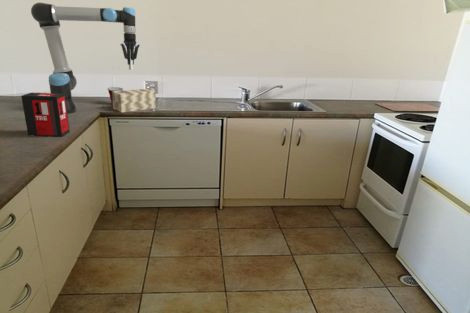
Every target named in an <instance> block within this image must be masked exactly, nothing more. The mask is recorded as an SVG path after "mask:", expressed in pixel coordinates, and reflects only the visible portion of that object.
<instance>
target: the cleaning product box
mask: <svg viewBox="0 0 470 313" xmlns="http://www.w3.org/2000/svg"><path fill="white" fill-rule="evenodd" d="M20 97H21V102H22V108H23V109H22V110H23V113H24V119H25V125H26V131H27V136H28V135H34V136H33V137H48V136H52V137H53V138H57V137H58V138H63V137H65V136H66V135H68V134H70V133H71V131H70V130H71V129H70V123H69V117H68V116H69V115H68V114H69V113H67V107H66V99H65V94H54V93H51V92H50V93H49V92H28V93H26V94H22V95H21V96H20Z"/></svg>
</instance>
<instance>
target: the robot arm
mask: <svg viewBox="0 0 470 313" xmlns="http://www.w3.org/2000/svg"><path fill="white" fill-rule="evenodd" d="M30 14H31V16H32V18H33V19H34V20H35V21H36V22H38V25H39V28H40V29H41V30H42V31H43V33H44V36H45V40H46V43H47V47H48V51H49V54H50V58H51V62H52V65H53V68H54V70H53V71H52V74H49V76H48V84H49V91H50V93H54V94H65V99H66V107H67V114H71V113H75V112H77V107H76V105H75V102H74V101H73V96H72V91H73V90H74V89H75V88H76V86H77V78H76V76H75V75H74V72H73V69H72V68H70V67H69V63H68V60H67V55H66V51H65V48H64V44H63V40H62V36H61V33H60V27H61V23H60V21H67V22H68V21H69V22H71V21H72V22H73V21H75V22H77V21H78V22H105V23H120V24H123V32H124V33H123V42H122V43H120V44H119V45H120V46H121V50H122V53H123V58H124V59H126V60H127V65H128V70H129V71H133V70H134V65H135V64H134V62H135V60H137V57H138V50H139V48H140V44H139V43H137V41H136V40H137V35H136V11H135V8H134V7H126V6H124V7H122V10H120V9H119V10H118V9H113V8H111V7H106V8H105V7H103V8H101V7H82V6H81V7H79V6H56V5H55V4H51V3H45V2H36V3H34V4H33V5H32V6H31V8H30Z"/></svg>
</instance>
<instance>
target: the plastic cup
mask: <svg viewBox="0 0 470 313" xmlns="http://www.w3.org/2000/svg"><path fill="white" fill-rule="evenodd" d="M106 89H107V91H108V94H109V98H110V102H111V105H112V106H113V98H112V92H113V91H124V88H123V87H119V86H118V87H117V86H110V87H107V88H106Z"/></svg>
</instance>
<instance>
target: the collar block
mask: <svg viewBox="0 0 470 313" xmlns="http://www.w3.org/2000/svg"><path fill="white" fill-rule="evenodd" d="M139 90H146V91H139ZM121 92H129V93H121ZM112 98H113V105H112V108H113V110H114V111H117V112H119V113H128V112H137V111H144V110H151V109H153V110H154V109H156V108H157V103H156V101H157V100H156V91H155V90H152V89H149V88H139V89H127V90H123V91H113V92H112Z"/></svg>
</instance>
